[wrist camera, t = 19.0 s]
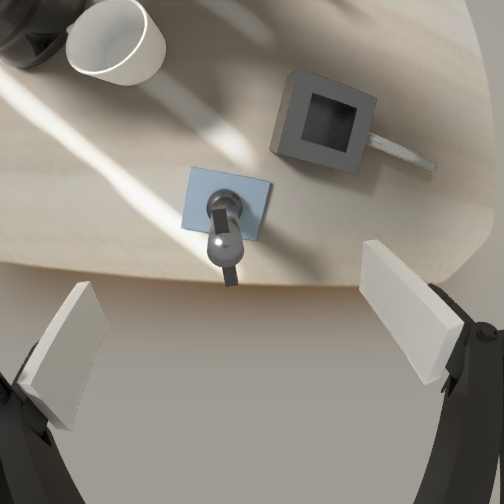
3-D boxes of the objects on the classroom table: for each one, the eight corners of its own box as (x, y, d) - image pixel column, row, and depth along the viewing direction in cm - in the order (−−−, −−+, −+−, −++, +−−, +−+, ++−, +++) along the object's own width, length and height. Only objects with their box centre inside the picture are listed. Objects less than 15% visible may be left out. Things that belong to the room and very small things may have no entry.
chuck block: (269, 149, 35) (276, 153, 30) (287, 76, 31) (297, 69, 26) (412, 193, 39) (431, 202, 34) (429, 133, 35) (450, 136, 30)
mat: (181, 226, 38) (181, 227, 37) (191, 166, 35) (191, 167, 34) (255, 239, 39) (255, 240, 39) (269, 181, 36) (270, 182, 36)
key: (202, 181, 35) (190, 214, 22) (237, 176, 35) (246, 205, 22) (212, 233, 38) (207, 291, 25) (245, 228, 38) (257, 283, 25)
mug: (106, 14, 24) (72, -14, 14) (180, 38, 27) (165, 8, 18) (74, 68, 27) (31, 56, 17) (145, 96, 30) (116, 86, 20)
